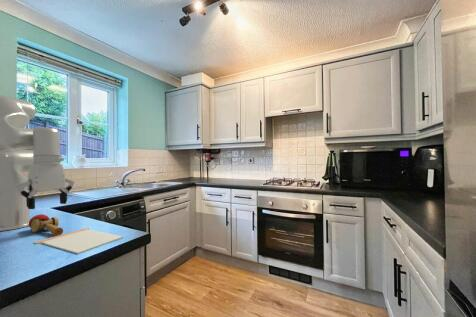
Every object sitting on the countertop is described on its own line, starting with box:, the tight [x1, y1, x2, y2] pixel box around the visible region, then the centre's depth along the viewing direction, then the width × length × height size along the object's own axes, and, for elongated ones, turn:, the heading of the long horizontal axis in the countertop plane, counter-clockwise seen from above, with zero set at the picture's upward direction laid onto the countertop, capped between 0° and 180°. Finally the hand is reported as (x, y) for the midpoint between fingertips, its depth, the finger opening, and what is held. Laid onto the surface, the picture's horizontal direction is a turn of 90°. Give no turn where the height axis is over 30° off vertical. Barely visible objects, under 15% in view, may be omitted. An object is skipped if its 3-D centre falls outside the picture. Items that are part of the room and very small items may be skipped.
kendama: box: [28, 214, 64, 237], centre depth 80 cm, size 8×6×18 cm
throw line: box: [33, 227, 90, 245], centre depth 76 cm, size 2×16×1 cm, turn 155°
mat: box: [40, 228, 124, 255], centre depth 71 cm, size 20×14×1 cm
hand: (48, 206), depth 80 cm, fingers open, 9 cm apart
